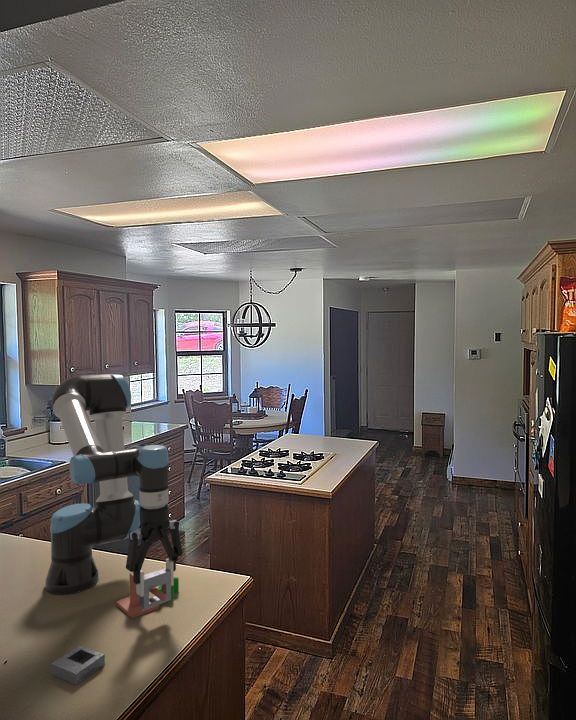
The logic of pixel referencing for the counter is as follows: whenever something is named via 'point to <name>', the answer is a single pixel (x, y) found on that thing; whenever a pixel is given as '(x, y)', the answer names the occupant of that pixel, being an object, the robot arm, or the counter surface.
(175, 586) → the pipe clamp
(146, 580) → the link
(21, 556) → the counter surface
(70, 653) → the link
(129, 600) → the hook
